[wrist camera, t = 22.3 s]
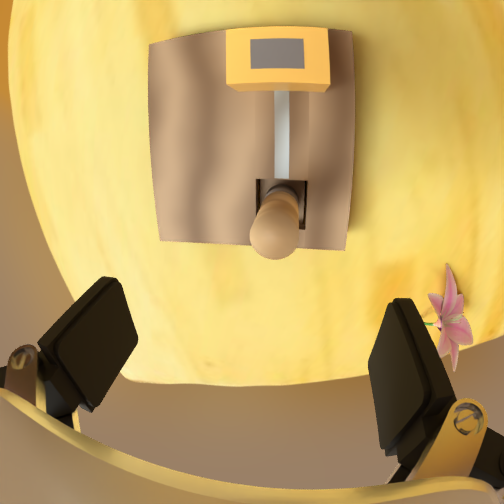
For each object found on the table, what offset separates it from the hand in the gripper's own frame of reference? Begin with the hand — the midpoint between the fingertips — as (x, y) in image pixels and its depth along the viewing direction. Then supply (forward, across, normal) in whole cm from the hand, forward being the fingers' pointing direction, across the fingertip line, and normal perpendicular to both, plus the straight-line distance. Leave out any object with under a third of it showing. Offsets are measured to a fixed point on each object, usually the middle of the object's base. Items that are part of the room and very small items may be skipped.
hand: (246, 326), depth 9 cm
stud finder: (+16, 0, -12) cm, 20 cm away
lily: (+20, -21, +12) cm, 32 cm away
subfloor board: (+20, +3, -6) cm, 21 cm away
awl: (+18, 0, 0) cm, 18 cm away
